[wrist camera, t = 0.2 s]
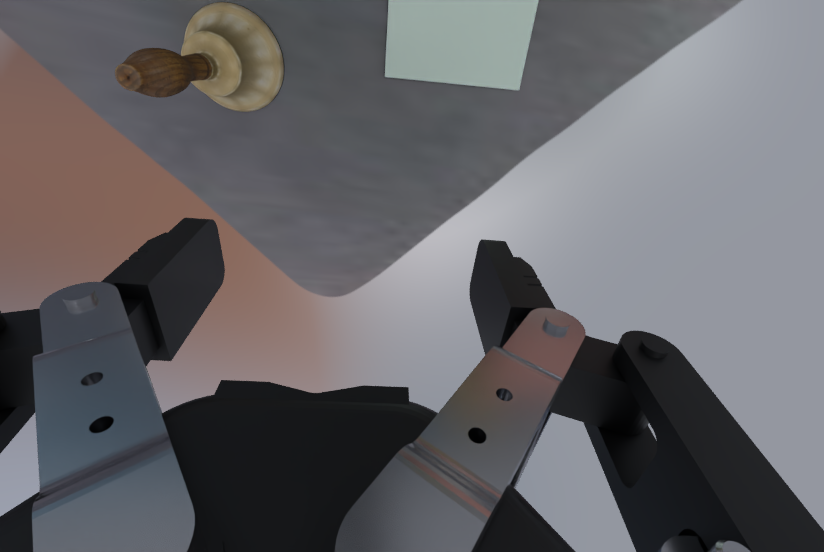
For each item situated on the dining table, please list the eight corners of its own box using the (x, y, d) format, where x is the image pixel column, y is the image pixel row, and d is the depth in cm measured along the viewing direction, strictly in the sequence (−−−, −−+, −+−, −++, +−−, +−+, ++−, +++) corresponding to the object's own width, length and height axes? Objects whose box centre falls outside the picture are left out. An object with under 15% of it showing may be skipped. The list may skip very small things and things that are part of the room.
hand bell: (181, 90, 35) (49, 129, 22) (189, -17, 31) (34, -50, 18) (274, 125, 37) (206, 180, 24) (293, 28, 33) (224, 29, 20)
